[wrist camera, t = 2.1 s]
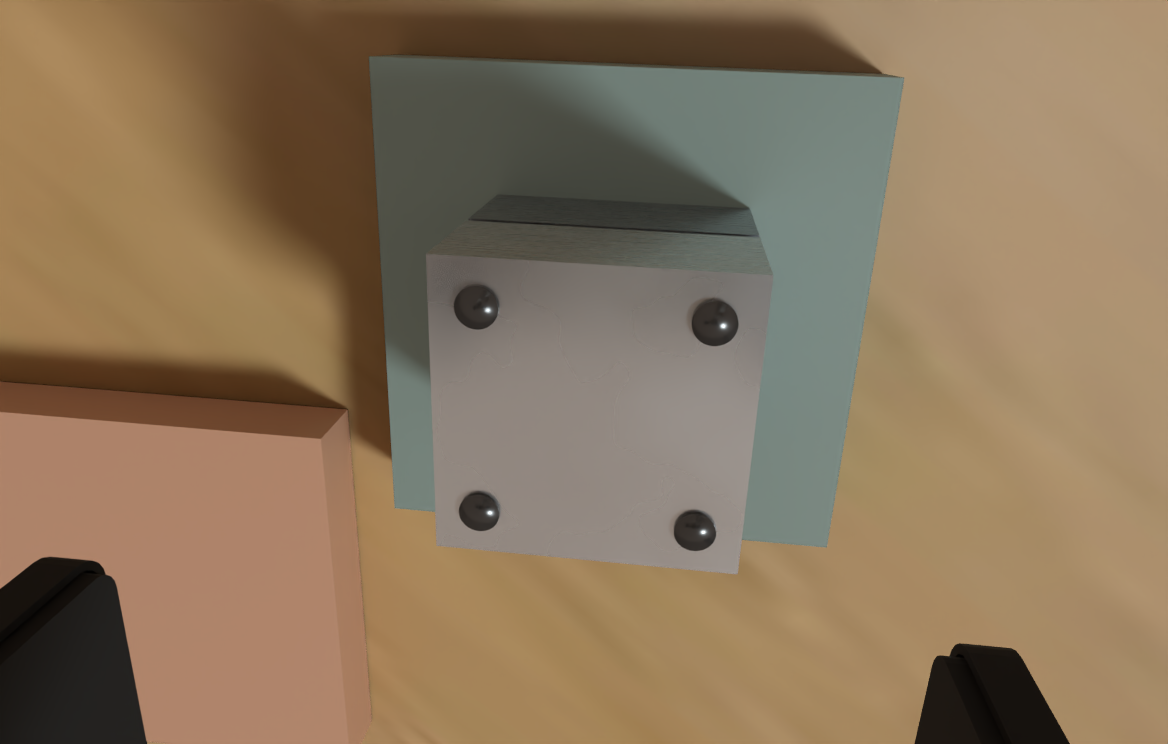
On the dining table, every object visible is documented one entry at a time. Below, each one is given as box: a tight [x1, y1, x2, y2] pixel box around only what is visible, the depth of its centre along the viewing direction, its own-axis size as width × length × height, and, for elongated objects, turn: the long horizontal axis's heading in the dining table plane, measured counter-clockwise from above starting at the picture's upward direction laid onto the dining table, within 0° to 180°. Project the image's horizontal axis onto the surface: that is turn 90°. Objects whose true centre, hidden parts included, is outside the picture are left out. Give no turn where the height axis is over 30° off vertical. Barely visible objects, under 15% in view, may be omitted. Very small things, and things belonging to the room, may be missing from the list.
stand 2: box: [369, 55, 904, 547], centre depth 22 cm, size 12×12×2 cm
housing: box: [426, 194, 774, 574], centre depth 18 cm, size 6×6×6 cm
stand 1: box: [0, 382, 372, 744], centre depth 27 cm, size 12×12×2 cm
